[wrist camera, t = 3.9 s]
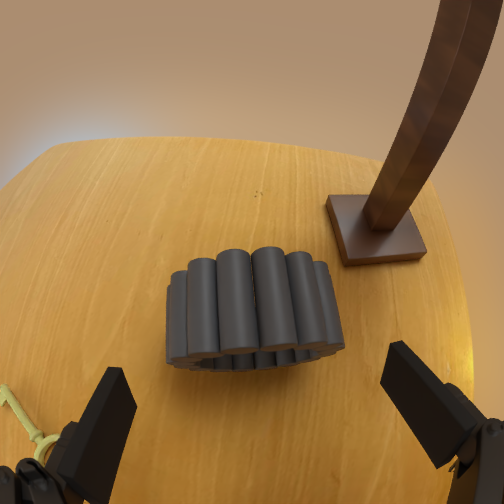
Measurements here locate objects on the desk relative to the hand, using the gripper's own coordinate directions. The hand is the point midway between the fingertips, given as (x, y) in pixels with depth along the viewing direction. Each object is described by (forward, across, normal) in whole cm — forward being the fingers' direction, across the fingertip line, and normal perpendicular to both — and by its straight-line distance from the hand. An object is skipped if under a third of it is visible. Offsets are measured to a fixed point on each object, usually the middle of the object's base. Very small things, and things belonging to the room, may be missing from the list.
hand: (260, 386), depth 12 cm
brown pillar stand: (+15, +15, +1) cm, 21 cm away
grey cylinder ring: (+10, 0, -4) cm, 11 cm away
